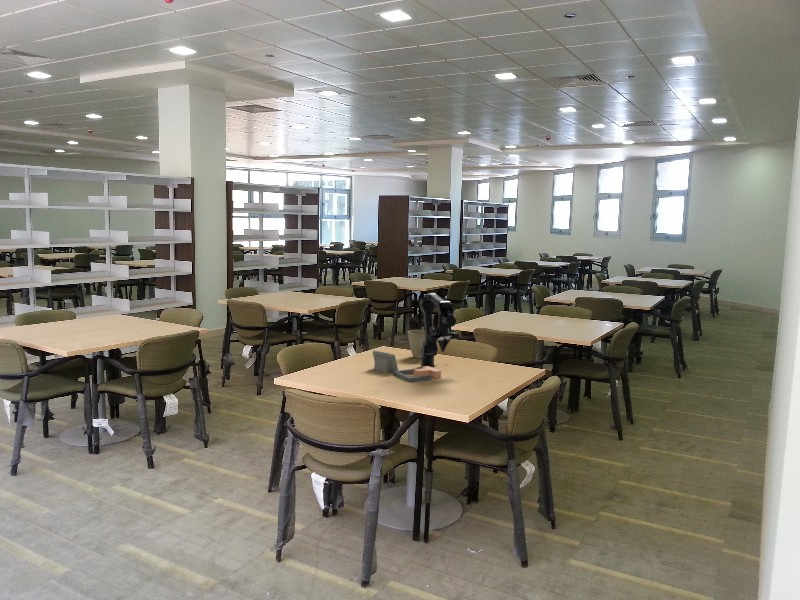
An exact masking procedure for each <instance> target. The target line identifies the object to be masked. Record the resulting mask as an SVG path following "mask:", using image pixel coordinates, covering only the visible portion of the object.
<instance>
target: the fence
mask: <svg viewBox="0 0 800 600" xmlns="http://www.w3.org/2000/svg"><path fill="white" fill-rule="evenodd" d="M414 370H415V368H409V369H400V370H399V369H398V371H392V375H393V376H395V377H398V378H400V379H402V380H404V381H407V382H409V383H415V382H422V381H423V382H424V381H431V380H432V377H431V376H430V375H428V376H420V377H415V376H413V377H411V376H408V374H414Z"/></svg>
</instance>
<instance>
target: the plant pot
mask: <svg viewBox="0 0 800 600" xmlns="http://www.w3.org/2000/svg"><path fill="white" fill-rule="evenodd" d="M407 336H408V343H409V348H410V352H411V354H412V357H413V358H414V357H415V359H422V355H420V350H421V348H422V346H423V342H424V340H425V329H412V330H408V331H407Z"/></svg>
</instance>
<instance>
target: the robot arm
mask: <svg viewBox="0 0 800 600" xmlns="http://www.w3.org/2000/svg"><path fill="white" fill-rule="evenodd" d="M418 305H419V308H420V309H419V310H420V311H421V312H422V314H423V326H424V328H423V329H424V330H425V340H424V342H423V346H422V348H421V350H420V355H422V358H421V363H420V365H421V367H423V366H429V367H436V364H435V357H436V356H437V355H438V350H439V349H440V352H441V353H443V352H445V350H446V348H447V346H448V345H449V343H450V342H451V341H452V339H451V338H453V339H456V340H457V339H460V334H459V332H454V331H451V332H450V331H449V329H450V328H451V327H454V326H456V324H457V319H456V317H454V314H455V310H454V307H453V305H452V303H451V301H450V300H447V299H446V300H445V299H443V298H442V297H440V296H439V295H438V294H437V293H435V292H429V293H426V295H424V296H423V297H421V298H420V300H419V302H418ZM435 307H436V310H437V312H438V313H437V315H438V322H437V323H438V324H436V327H434V326H433V311H434V310H435ZM438 347H439V349H438Z"/></svg>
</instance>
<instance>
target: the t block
mask: <svg viewBox="0 0 800 600" xmlns="http://www.w3.org/2000/svg"><path fill="white" fill-rule="evenodd" d="M414 369H415V368H414ZM428 375H430V376H431V378H434V379H439V378H441V377H442V370H440V369H437V368H434V367H433V366H431V367H429V366H421V368H416V369H415V370H414V373H413V377H420V376H428Z"/></svg>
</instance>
